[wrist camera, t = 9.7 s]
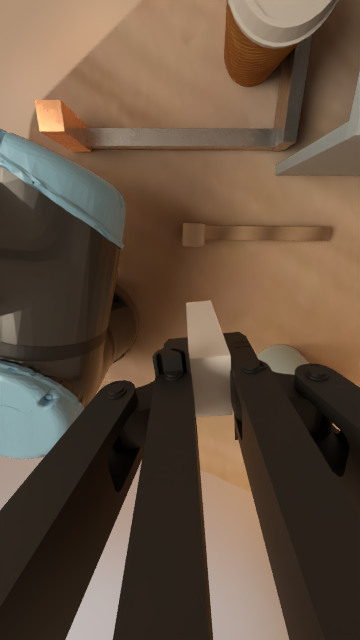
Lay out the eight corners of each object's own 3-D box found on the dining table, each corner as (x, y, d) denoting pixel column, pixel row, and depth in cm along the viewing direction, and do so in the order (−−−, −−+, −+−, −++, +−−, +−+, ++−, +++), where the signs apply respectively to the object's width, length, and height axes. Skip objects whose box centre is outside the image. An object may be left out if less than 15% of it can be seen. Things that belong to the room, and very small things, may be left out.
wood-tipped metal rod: (72, 151, 32) (39, 131, 25) (49, -30, 26) (-4, -129, 19) (282, 153, 32) (312, 132, 25) (307, -30, 26) (357, -131, 18)
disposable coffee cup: (200, 16, 28) (211, -123, 16) (286, -23, 26) (361, -202, 15) (221, 116, 31) (243, 57, 20) (298, 85, 30) (368, 4, 19)
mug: (253, 344, 43) (273, 379, 33) (307, 344, 43) (342, 378, 33) (247, 408, 48) (262, 453, 39) (295, 407, 48) (322, 453, 38)
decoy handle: (182, 241, 36) (182, 246, 29) (182, 222, 36) (182, 223, 28) (322, 242, 36) (358, 247, 29) (326, 224, 35) (364, 224, 28)
